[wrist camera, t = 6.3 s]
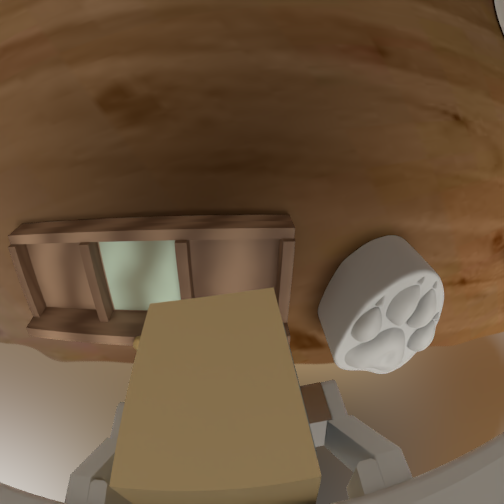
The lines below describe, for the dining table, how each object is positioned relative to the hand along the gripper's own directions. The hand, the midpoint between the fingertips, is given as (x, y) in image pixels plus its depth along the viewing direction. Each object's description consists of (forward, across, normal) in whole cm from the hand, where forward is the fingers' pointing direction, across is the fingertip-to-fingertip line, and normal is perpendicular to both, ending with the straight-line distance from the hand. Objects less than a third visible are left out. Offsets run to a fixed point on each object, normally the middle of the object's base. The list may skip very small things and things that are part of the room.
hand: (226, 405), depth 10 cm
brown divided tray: (+21, +9, +5) cm, 23 cm away
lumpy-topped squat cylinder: (+20, -15, +11) cm, 28 cm away
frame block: (+3, 0, 0) cm, 3 cm away
